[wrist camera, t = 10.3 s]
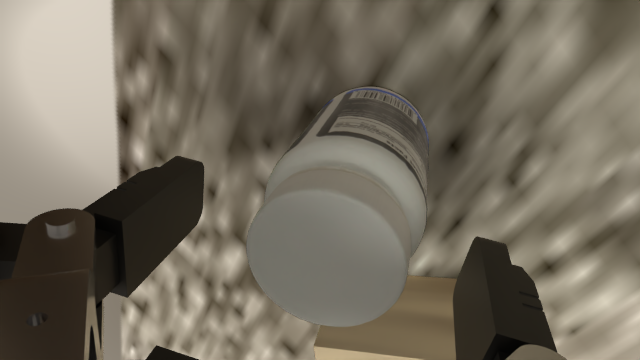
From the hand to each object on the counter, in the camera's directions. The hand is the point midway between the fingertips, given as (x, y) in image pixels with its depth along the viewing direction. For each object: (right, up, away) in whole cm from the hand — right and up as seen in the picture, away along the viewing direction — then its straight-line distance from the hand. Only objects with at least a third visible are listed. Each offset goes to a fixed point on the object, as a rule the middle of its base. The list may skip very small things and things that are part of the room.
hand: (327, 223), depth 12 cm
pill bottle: (+2, +3, +5) cm, 6 cm away
